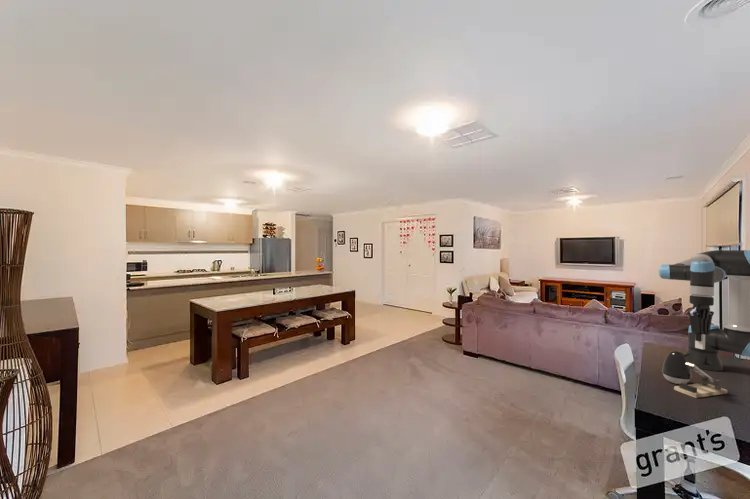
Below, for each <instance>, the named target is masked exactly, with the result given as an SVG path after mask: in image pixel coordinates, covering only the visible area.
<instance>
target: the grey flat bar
mask: <svg viewBox="0 0 750 499" xmlns="http://www.w3.org/2000/svg"><path fill="white" fill-rule="evenodd" d="M685 364H686V365H687V366H689V367H690V370H693V371H695V373H697V374H698V375H700V376H701V378H702V377H704V378H705V379H706V380H708V382H712V383H714V384H715V380H716V379H714V378H713V377H712V376H710V375H709V374H707V373H706V372H705V371H703V369H700V368H698V367H697V366H696V365H694V364H691V363H687V362H686V363H685Z"/></svg>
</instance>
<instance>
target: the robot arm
mask: <svg viewBox="0 0 750 499" xmlns="http://www.w3.org/2000/svg"><path fill="white" fill-rule="evenodd" d="M658 275H659V277H660V278H661V279H664V280H670V281H671V280H673V281H687V282H689V295H690V296H689V304H692V308H691V310H688V311H687V314H688V316H689V321H690V322H689V323H690V325H689V326H688V331H687V334H688V336H687V337H688V338H687V339H688V340H687V342H688V343H687V344H688V345H687V351H686V353H685V354H688V353H689V354H690V356H687V357H686V359H687V361H688V363H691V364H694V365H696V366H697V367H698V368H699V369H700V370H707V371H714V372H722V371H723V370H724V369H723V368H724V366H723V363H722V360H721V358H720V355H719V352H725V353H729V354H735V355H739V356H742V357H749V358H750V250H749V249H742V250H741V249H739V250H738V249H737V250H735V249H733V250H732V249H731V250H730V249H727V250H726V249H725V250H724V249H714V250H708V251H705V252H704V251H703V252H700V253H696V254H694V255H691V257H690V258H689V259H685V260H682V261H679V262H677V263H675V264H670V263H668V264H661V265H660V266H659V268H658ZM726 277H727V278H728V307H727V308H728V310H727V311H728V312H727V314H728V316H727V324H725V325H724V326H723V328H720V326H719V325H717V324H712V320H713V317H714V314H715V311H712V310H711V308H710V307H712V306H714V300H715V299H714V296H715V284H716V283H720V282H721V281H723V280H725V278H726Z"/></svg>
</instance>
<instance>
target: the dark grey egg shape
mask: <svg viewBox="0 0 750 499" xmlns="http://www.w3.org/2000/svg"><path fill="white" fill-rule="evenodd" d="M687 356H690V354H689V353H688V354H686V353H683V352H681V351H678V350H671V351H670V352H669V353H668V354H667V355H666V357H665V359H664V361H663V365H662V368H661V369H662V370H661V372H662V374H663V377H664V379H666V381H668V382H669V383H672V384H675V385H679V384H681V383H684V384H687V385H688V384H689V382H690V381H691V379H692V369H691V368H690V367H689V366H687V365H686V364H685V363H686V362H687V363H688V361H687V359H686V357H687Z"/></svg>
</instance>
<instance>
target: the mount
mask: <svg viewBox="0 0 750 499" xmlns="http://www.w3.org/2000/svg"><path fill="white" fill-rule="evenodd" d="M714 380H715V383H714V385H713V384H710V383H709V381H708V380H706V379H705V378H704V377H702V376H701V382H699V383H698V382H697V383H693V384H691V383H690V384H688V383H687V384H684V383H681V384H678V385H675V386H674V387H673V391H677V392H679V393H682V394H684V395H687V396H690V397H691V398H692V397H693V398H695V399H697V398H704V397H710V396H711V397H713V396H718V395H719V396H720V395H727V394H728V389H725V388H722V380H721V379H714Z"/></svg>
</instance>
